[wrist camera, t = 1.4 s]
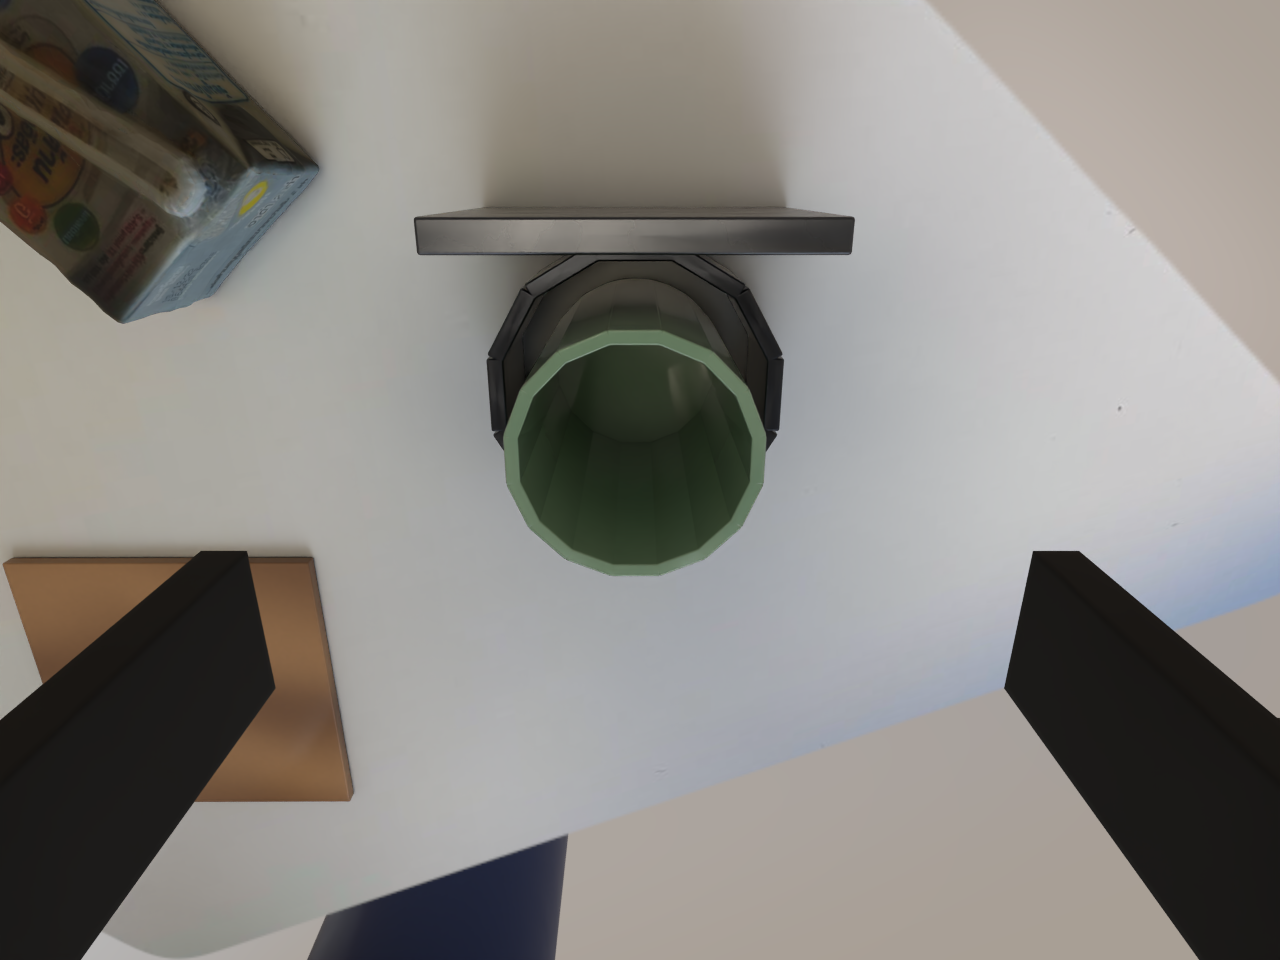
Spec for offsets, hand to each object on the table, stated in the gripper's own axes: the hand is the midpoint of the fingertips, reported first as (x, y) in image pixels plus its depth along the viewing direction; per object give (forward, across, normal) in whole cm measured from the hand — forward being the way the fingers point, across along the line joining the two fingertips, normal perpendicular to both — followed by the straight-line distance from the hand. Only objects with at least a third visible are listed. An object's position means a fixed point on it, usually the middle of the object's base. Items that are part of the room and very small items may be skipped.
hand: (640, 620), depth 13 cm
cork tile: (+20, +22, +16) cm, 34 cm away
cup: (+20, 0, 0) cm, 21 cm away
